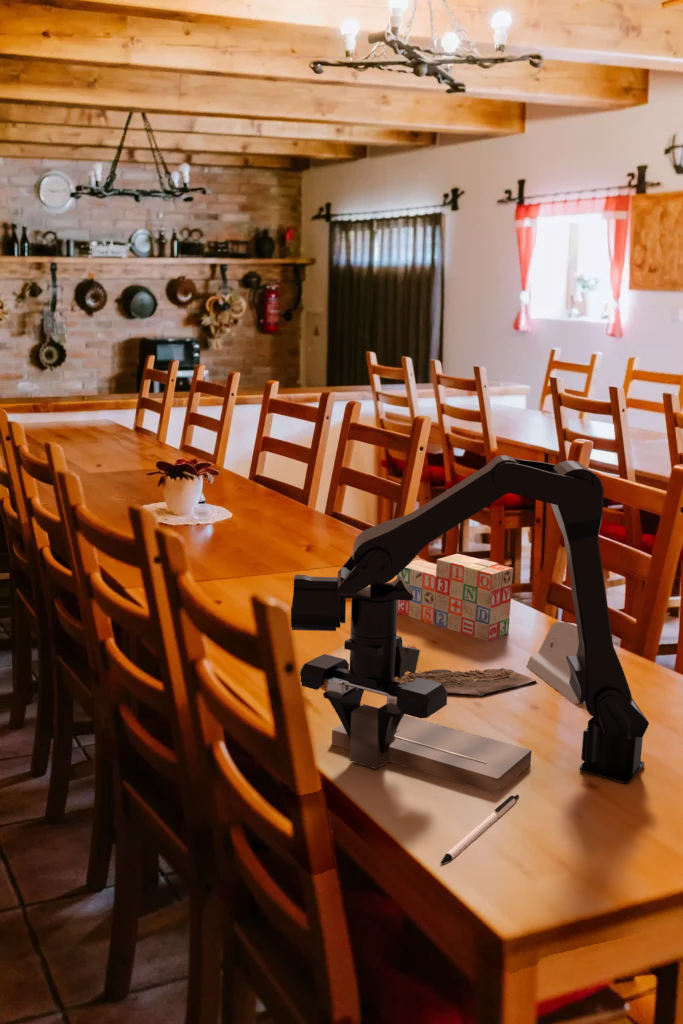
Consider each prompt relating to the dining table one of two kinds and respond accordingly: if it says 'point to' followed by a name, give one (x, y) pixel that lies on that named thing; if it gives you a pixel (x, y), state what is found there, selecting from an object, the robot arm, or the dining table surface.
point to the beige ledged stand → (557, 658)
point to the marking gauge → (366, 738)
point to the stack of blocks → (460, 595)
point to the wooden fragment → (471, 680)
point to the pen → (479, 829)
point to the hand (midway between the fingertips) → (369, 748)
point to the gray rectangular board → (451, 754)
